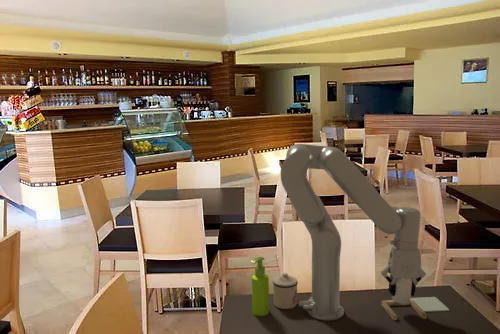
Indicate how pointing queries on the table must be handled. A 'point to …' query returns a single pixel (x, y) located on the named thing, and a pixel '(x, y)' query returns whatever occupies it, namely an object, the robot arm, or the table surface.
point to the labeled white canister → (403, 290)
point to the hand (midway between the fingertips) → (401, 293)
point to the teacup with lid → (285, 291)
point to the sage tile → (430, 304)
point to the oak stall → (393, 303)
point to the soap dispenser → (260, 289)
